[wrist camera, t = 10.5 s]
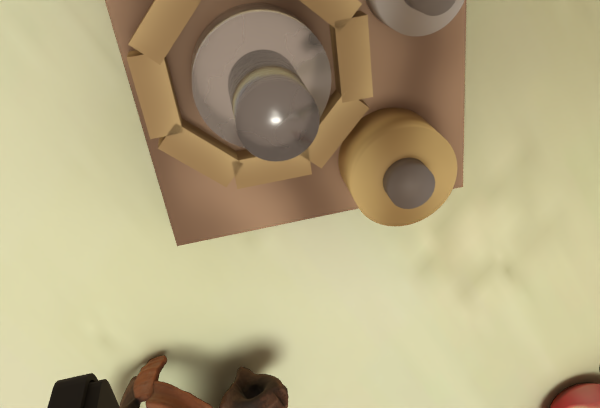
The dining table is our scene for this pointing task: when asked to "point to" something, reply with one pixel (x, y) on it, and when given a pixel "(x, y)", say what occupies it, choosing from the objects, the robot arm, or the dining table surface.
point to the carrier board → (333, 122)
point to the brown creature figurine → (179, 404)
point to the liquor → (578, 397)
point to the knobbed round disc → (261, 80)
